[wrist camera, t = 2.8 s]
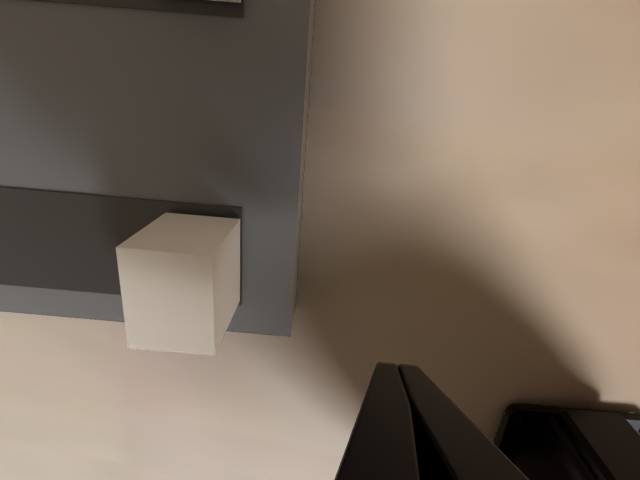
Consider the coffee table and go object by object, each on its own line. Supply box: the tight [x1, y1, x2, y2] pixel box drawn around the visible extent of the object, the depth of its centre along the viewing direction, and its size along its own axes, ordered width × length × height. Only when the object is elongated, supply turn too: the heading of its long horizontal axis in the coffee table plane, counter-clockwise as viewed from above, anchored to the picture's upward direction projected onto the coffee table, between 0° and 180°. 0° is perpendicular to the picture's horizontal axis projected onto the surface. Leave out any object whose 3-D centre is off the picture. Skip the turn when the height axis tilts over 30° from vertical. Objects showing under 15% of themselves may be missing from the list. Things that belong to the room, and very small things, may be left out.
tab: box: [116, 213, 240, 356], centre depth 11 cm, size 3×2×3 cm
